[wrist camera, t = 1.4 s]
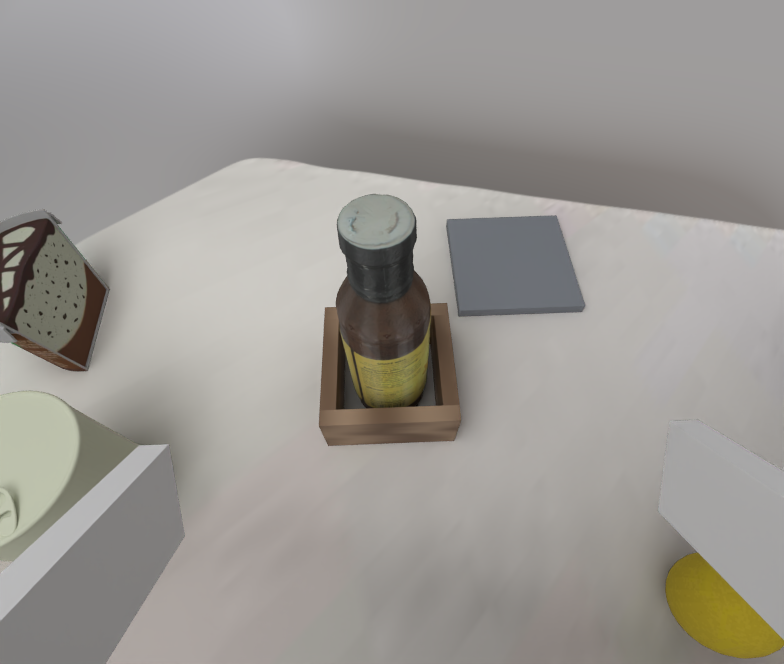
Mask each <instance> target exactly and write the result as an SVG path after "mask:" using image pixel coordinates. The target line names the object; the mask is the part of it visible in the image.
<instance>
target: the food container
mask: <svg viewBox="0 0 784 664" xmlns="http://www.w3.org/2000/svg"><path fill="white" fill-rule="evenodd" d="M61 223H62V222H61V221H60V220H59V219H57V218H56V217H55V216H54V215H53V214H51V213H47V212H46V211H45V210H44V209H40V210H33V211H29V212H25V213H21V214H18V215H15V216H12V217H9V218H7V219H5V220H2V221H0V342H2V343H12V344H14V345H16V346H18V347H20V348H22V349H24V350H26V351H28V352H30V353H32V354H34V355H36V356H38V357H40V358H42V359H44V360H46V361H48V362H50V363H52V364H54V365H56V366H58V367H61V368H63V369H66V370H70V371H88V367H89V364H90V360H91V356H92V353H93V349H94V345H95V342H96V338H97V334H98V330H99V327H100V323H101V319H102V316H103V312H104V308H105V304H106V301H107V297H108V293H109V290H110V289H109V288H108V287H107V285H106V284H105V283H104V282H103V280H102V279H101V278H100V277H99V275H98V274H97V273H96V272H95V271H94V269H93V268H92V267H91V266H90V264H89V263H88V262H87V261H86V259H85V258H84V257H83V256H82V254H81V253H80V252H79V251H78V250H77V248H76V247H75V246H74V245H73V243H72V242H71V241H70V240H69V239H68V237H67V236H66V235H65V234H64V232H63V231H62V230H61V228H60V227H59V226H58V225H57V224H61Z"/></svg>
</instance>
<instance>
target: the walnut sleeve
mask: <svg viewBox="0 0 784 664" xmlns="http://www.w3.org/2000/svg"><path fill="white" fill-rule="evenodd" d="M429 344H430V345H431V356H432V367H433V378H434V388H435V399H436V406H419V407H394V408H368V409H344V373H345V349H344V345H343V341H342V337H341V333H340V327H339V319H338V315H337V309H336V307H326V308H325V318H324V337H323V356H322V375H321V395H320V414H319V427H320V429H321V431H322V434H323V436H324V438H325V440H326V442H327V444H328V446H333V445H358V444H384V443H409V442H435V441H454V439H455V436H456V434H457V431H458V428H459V426H460V423H461V413H460V405H459V397H458V388H457V380H456V372H455V364H454V356H453V348H452V339H451V331H450V323H449V315H448V307H447V303H435V304H431V326H430V336H429Z"/></svg>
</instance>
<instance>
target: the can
mask: <svg viewBox="0 0 784 664" xmlns="http://www.w3.org/2000/svg"><path fill="white" fill-rule="evenodd" d="M138 446H140V444H136V443H134V442H132V441H131V440H129V439H127V438H125V437H123V436H122V435H120V434H118V433H116V432H114V431H113V430H111V429H109V428H107V427H105V426H104V425H102V424H100V423H98V422H96V421H95V420H93V419H91V418H90V417H88V416H86V415H84V414H83V413H81V412H79V411H78V410H76V409H74V408H72V407H71V406H69V405H68V404H67V403H66V402H65V401H63V400H62V399H60V398H58V397H56V396H54V395H52V394H48V393H45V392H39V391H18V392H12V393H7V394H3V395H0V561H14V560H15V559H17V558H18V557H19V556H20V555H21V554H22V553H23V552H24V551H25V550H26V549H27V548H28V547H30V546H31V545H32V544H33V543H34V542H35V541H36V540H37V539H38V538H39V537H40V536H41V535H43V534H44V533H45V532H46V531H47V530H48V529H49V528H50V527H51V526H52V525H53V524H54V523H56V522H57V521H58V520H59V519H60V518H61V517H62V516H63V515H64V514H65V513H66V512H67V511H69V510H70V509H71V508H72V507H73V506H74V505H75V504H76V503H77V502H78V501H79V500H80V499H82V498H83V497H84V496H85V495H86V494H87V493H88V492H89V491H90V490H91V489H92V488H93V487H95V486H96V485H97V484H98V483H99V482H100V481H101V480H102V479H103V478H104V477H105V476H106V475H108V474H109V473H110V472H111V471H112V470H113V469H114V468H115V467H116V466H117V465H118V464H119V463H121V462H122V461H123V460H124V459H125V458H126V457H127V456H128V455H129V454H130V453H131V452H133V451H134V450H135V449H136V448H137V447H138Z"/></svg>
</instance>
